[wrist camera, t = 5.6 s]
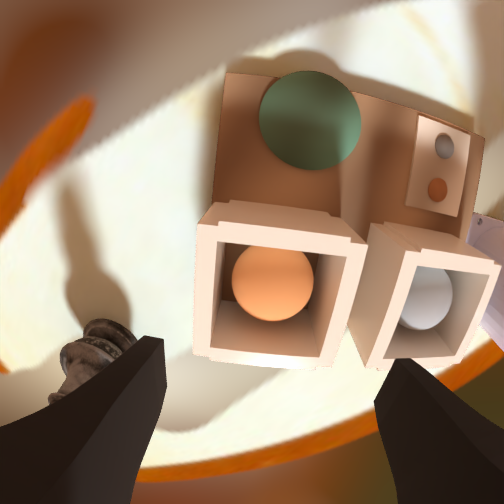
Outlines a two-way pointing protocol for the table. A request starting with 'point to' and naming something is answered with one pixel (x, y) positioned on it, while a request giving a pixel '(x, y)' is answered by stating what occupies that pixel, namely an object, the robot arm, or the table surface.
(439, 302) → the grey ball
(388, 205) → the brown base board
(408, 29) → the table surface
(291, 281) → the orange ball
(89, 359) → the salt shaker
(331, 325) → the beige open box
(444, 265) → the open square box
